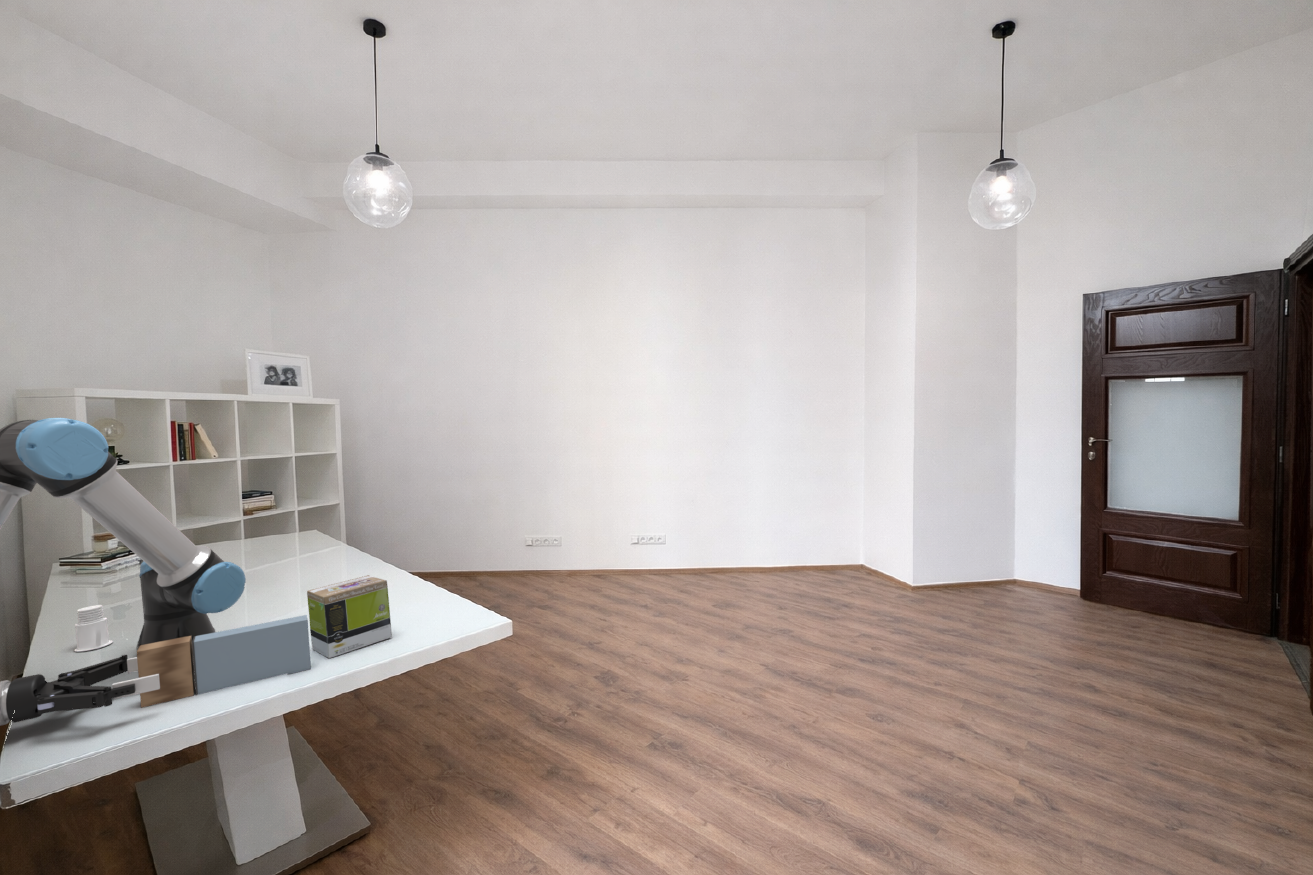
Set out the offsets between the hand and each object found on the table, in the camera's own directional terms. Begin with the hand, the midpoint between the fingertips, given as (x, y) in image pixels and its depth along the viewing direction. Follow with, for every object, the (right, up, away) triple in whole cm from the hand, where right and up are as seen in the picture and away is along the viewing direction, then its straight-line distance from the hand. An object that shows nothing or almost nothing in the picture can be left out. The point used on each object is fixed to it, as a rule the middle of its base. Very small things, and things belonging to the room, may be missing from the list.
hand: (164, 668), depth 117 cm
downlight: (-44, -7, +31) cm, 54 cm away
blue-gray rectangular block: (+12, -5, +9) cm, 16 cm away
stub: (0, -6, +1) cm, 6 cm away
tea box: (+24, -4, +26) cm, 36 cm away
